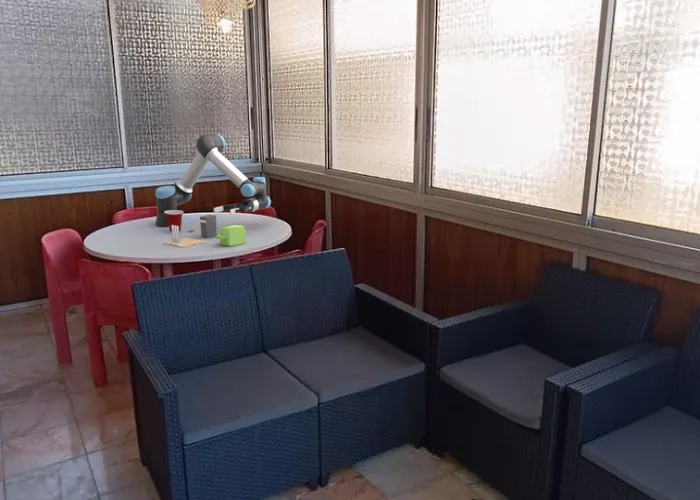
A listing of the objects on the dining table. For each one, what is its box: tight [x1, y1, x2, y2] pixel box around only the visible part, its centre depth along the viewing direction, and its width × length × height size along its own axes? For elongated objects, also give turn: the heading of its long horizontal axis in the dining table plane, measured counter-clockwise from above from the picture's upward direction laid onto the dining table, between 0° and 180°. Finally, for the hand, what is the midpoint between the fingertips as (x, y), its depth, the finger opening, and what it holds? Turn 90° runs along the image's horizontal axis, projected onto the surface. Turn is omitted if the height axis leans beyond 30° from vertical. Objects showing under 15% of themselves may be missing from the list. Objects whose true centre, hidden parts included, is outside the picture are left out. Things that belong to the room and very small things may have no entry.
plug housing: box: [199, 214, 218, 240], centre depth 329 cm, size 5×7×12 cm
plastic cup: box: [165, 209, 184, 233], centre depth 345 cm, size 11×11×12 cm
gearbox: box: [215, 224, 247, 247], centre depth 313 cm, size 18×10×10 cm, turn 140°
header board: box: [163, 225, 206, 248], centre depth 316 cm, size 16×15×10 cm
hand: (222, 211), depth 335 cm, fingers open, 13 cm apart
